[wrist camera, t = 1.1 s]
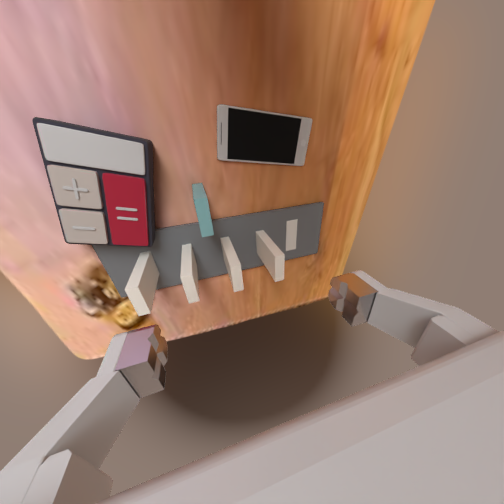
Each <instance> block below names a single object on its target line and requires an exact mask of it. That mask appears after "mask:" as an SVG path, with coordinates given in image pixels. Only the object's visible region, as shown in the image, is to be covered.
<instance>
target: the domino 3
mask: <svg viewBox="0 0 504 504" xmlns="http://www.w3.org/2000/svg"><path fill="white" fill-rule="evenodd" d="M192 189H193V199H194V204H195V208H196V212H197V217H198V221H199V226H200V230H201V235H202V237H206V236H212V235H214V232H213V226H212V221H211V215H210V210H209V205H208V199H207V196H206V193H205V190H204V187H203V185H202V183H198V184H192Z"/></svg>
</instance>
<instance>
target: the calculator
mask: <svg viewBox="0 0 504 504" xmlns="http://www.w3.org/2000/svg"><path fill="white" fill-rule="evenodd" d="M33 125H34V128H35V132H36V136H37V139H38V143H39V147H40V150H41V154H42V158H43V162H44V165H45V169H46V173H47V176H48V180H49V184H50V187H51V191H52V195H53V198H54V202H55V206H56V209H57V213H58V217H59V221H60V224H61V228H62V232H63V235H64V239H65V242H66V243H69V244H88V245H111V246H133V247H152V246H153V243H154V240H155V214H154V187H153V144H152V142H151V141H150V140H147V139H142V138H138V137H133V136H128V135H123V134H118V133H114V132H109V131H104V130H99V129H94V128H90V127H85V126H80V125H75V124H71V123H66V122H61V121H56V120H50V119H44V118H38V117H35V118H33Z"/></svg>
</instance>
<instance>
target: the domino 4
mask: <svg viewBox="0 0 504 504" xmlns="http://www.w3.org/2000/svg"><path fill="white" fill-rule="evenodd" d="M220 239H221V245H222V251H223V256H224V261H225V264H226V268H227V271H228V274H229V277H230V281H231V284H232V287H233V290H234V292H237V291H241V290H244V287H243V278H242V270H241V263H240V261H239V259H238V257H237V254H236V252H235V250H234V247H233V245H232V243H231V241H230V238H229V236H228V237H223V238H220Z"/></svg>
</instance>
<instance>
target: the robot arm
mask: <svg viewBox="0 0 504 504" xmlns="http://www.w3.org/2000/svg"><path fill="white" fill-rule="evenodd" d="M330 285H331V286H332V288H331V289H330V291H329V300H330V303H331V304H332V305H333V307H334V308H335V309H336V310H339V311H341V312H342V317H343V318H344V319H345V320H346V321H347V322H348V323H349V324H350V325H351V326H355V325H359V324H362V323H365V322H367V323H368V324H370V325H372V326H374V327H376V328H378V329H380V330H382V331H384V332H386V333H388V334H389V335H391V336H393V337H395V338H397V339H399V340H401V341H403V342H405V343H407V344H408V345H411V346H413V347H414V348H415V349H414V351H413V353H412V354H411V359H412V360H413V361H415V363H417V364H418V365H419V366H418V367H416V368H413V369H411V370H408V371H406V372H404V373H402V374H399V375H396V376H394V377H392V378H389V379H387V380H385V381H383V382H380V383H378V384H376V385H373V386H371V387H368V388H366V389H363V390H361V391H359V392H356V393H354V394H352V395H349V396H347V397H344V398H342V399H340V400H337V401H335V402H333V403H330V404H328V405H326V406H323V407H321V408H318V409H316V410H314V411H311V412H309V413H307V414H305V415H302V416H299V417H297V418H295V419H293V420H290V421H288V422H285V423H283V424H281V425H278V426H276V427H273V428H271V429H269V430H266V431H264V432H262V433H260V434H257V435H255V436H252V437H250V438H248V439H245V440H243V441H241V442H238V443H236V444H233V445H231V446H229V447H226V448H224V449H222V450H219V451H217V452H214V453H212V454H210V455H208V456H205V457H203V458H200V459H198V460H195V461H193V462H191V463H188V464H186V465H184V466H182V467H179V468H177V469H174V470H172V471H169V472H167V473H165V474H162V475H160V476H158V477H156V478H153V479H151V480H148V481H146V482H144V483H141V484H139V485H136V486H134V487H132V488H129V489H127V490H125V491H122V492H120V493H118V494H115V495H113V496H110V492H111V488H112V484H113V480H112V478H111V477H110V476H109V475H107V474H106V473H104V472H103V471H101V470H99V468H100V466H101V464H102V463H103V461H104V459H105V458H106V456H107V454H108V453H109V451H110V449H111V448H112V446H113V444H114V443H115V441H116V439H117V437H118V436H119V434H120V433H121V431H122V429H123V427H124V426H125V424H126V422H127V421H128V419H129V418H130V416H131V414H132V412H133V411H134V409H135V408H136V406H137V404H138V403H139V401H140V399H139V398H142V397H145V396H147V395H150V394H153V393H156V392H159V391H161V390H164V387H165V377H166V371H165V369H164V367H163V366H164V365H165V363H166V362H167V358H168V348H167V343H166V340H165V338H164V337H162V336H160V334H161V329H160V328H159V326H158V325H152V326H148V327H144V328H140V329H136V330H131V331H129V332H124V333H120V334H116V335H115V336H114V337H113V338H112V340H111V342H110V344H109V347H108V349H107V352H106V354H105V356H104V359H103V361H102V364H101V366H100V369H99V371H98V373H97V376H96V377H95V378H92V379H90V380H89V381H88V382H87V383H86V384H85V385H84V386H83V387H82V388H81V389H80V390H79V391H78V392H77V394H76V395H75V396H74V397H73V398H72V399H71V400H70V401H69V402H68V403H67V404H66V405H65V406H64V407H63V408H62V409H61V410H60V411H59V412H58V413H57V414H56V415H55V416H54V417H53V418H52V419H51V420H50V421H49V422H48V423H47V424H46V425H45V426H44V427H43V428H42V429H41V430H40V431H39V432H38V433H37V435H36V436H35V437H34V438H33V439H32V440H31V441H30V442H29V443H28V444H27V445H26V446H25V447H24V448H23V449H22V450H21V451H20V452H19V453H18V454H17V455H16V456H15V457H14V458H13V459H12V460H11V461H10V462H9V463H8V464H7V465H6V466H5V467H4V468H3V469H2V470H1V472H0V504H504V330H503V331H501V332H499V331H497V330H495V329H494V328H492V327H490V326H489V325H487V324H485V323H483V322H482V321H480V320H478V319H477V318H475V317H473V316H471V315H470V314H468V313H466V312H465V311H463V310H461V309H459V308H457V307H454V306H451V305H447V304H443V303H440V302H437V301H433V300H430V299H426V298H423V297H420V296H416V295H413V294H409V293H406V292H403V291H399V290H396V289H392V288H391V289H388V288H387V287H385V286H384V285H382V284H381V283H379V282H378V281H376V280H375V279H374V278H372V277H371V276H369V275H368V274H366V273H365V272H363V271H360V270H358V271H354V272H351V273H347V274H344V275H340V276H337V277H333V278H332V279H331V282H330Z"/></svg>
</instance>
